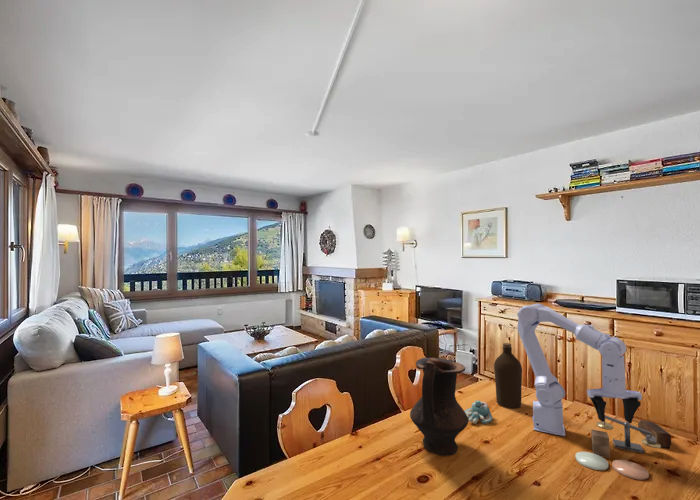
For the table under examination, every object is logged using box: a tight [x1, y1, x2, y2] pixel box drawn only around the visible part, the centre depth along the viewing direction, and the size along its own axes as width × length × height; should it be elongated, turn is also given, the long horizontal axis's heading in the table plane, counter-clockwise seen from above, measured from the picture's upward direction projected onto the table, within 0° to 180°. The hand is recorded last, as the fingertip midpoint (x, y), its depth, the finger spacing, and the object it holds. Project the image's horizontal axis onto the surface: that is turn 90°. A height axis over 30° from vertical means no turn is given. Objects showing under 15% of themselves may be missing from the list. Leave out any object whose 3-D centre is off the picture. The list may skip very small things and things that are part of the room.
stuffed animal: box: [464, 400, 494, 425], centre depth 129 cm, size 11×7×12 cm
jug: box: [409, 357, 470, 457], centre depth 110 cm, size 21×18×30 cm
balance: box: [595, 414, 662, 454], centre depth 109 cm, size 16×4×9 cm, turn 60°
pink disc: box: [611, 459, 650, 481], centre depth 97 cm, size 8×8×1 cm
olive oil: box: [493, 342, 523, 410], centre depth 143 cm, size 11×11×25 cm
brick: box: [637, 419, 672, 449], centre depth 113 cm, size 11×4×5 cm, turn 167°
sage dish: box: [574, 451, 609, 471], centre depth 101 cm, size 8×8×1 cm
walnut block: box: [590, 429, 611, 459], centre depth 106 cm, size 4×4×6 cm
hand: (614, 421), depth 107 cm, fingers open, 7 cm apart
